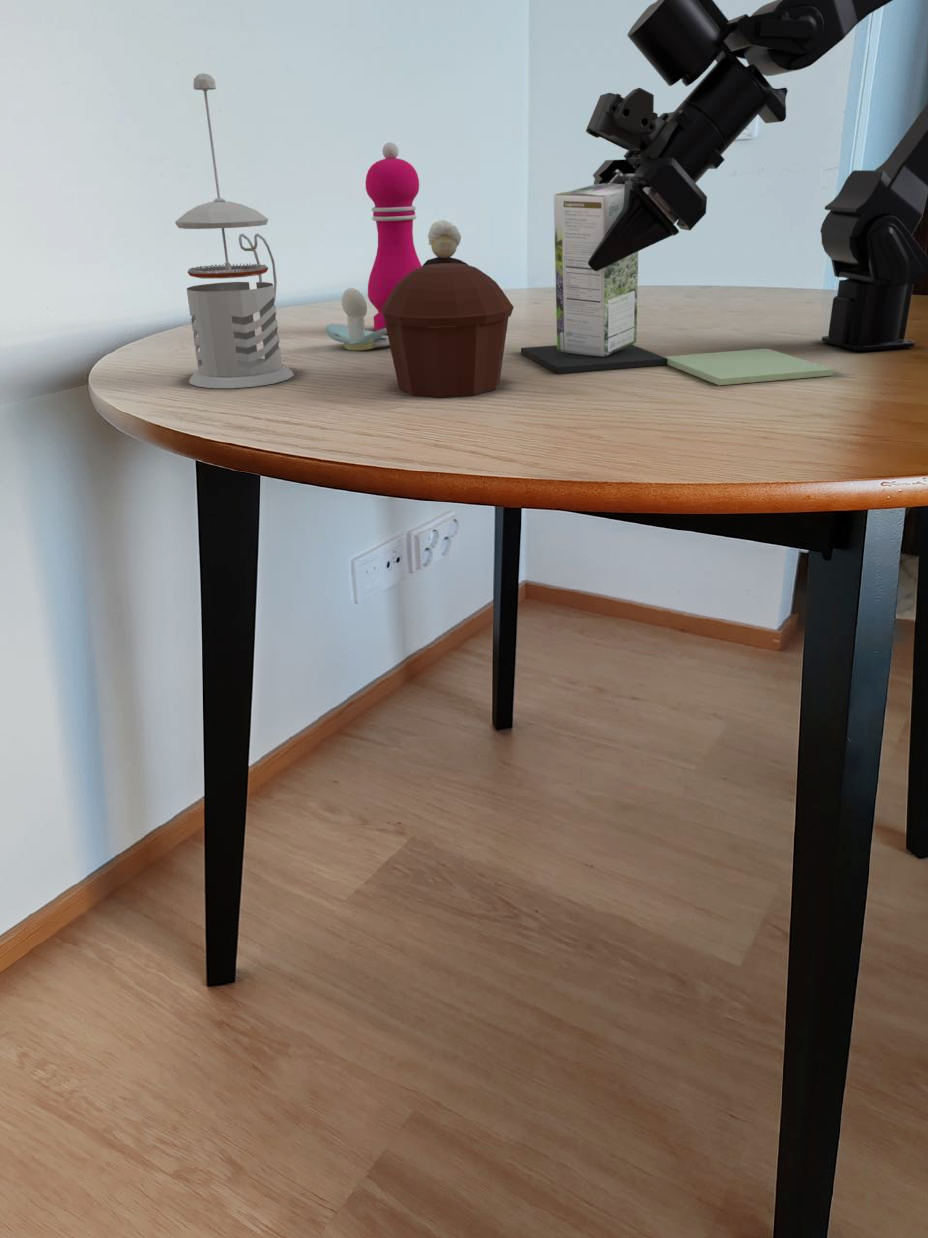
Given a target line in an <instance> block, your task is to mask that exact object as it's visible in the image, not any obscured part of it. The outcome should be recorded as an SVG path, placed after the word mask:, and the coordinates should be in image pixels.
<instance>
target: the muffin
mask: <svg viewBox="0 0 928 1238" xmlns="http://www.w3.org/2000/svg"><path fill="white" fill-rule="evenodd" d="M422 266H423V265H422ZM513 311H514V305H513V304H512V302H511V301H510V300H509V298H508V297H507V295H506V293H505V292H504V291H503V289H502V288H501V286H499V284H498V283H497V281H495V280H494V279H493V278H492V277H491V276H490V275H488V274H486V273H485V272H484V271H482V270H481V269H479V268H477V267H475V266H472V265H469V264H468V265H466V264H460V263H440V264H430V265H426V266H423V267H420V268H418V269H415V270H413V271H412V272H410V273H409V274H408V275H406V276H405V277H404V278H403V279H401V280H400V281H399V282H398V283H397V284H396V286H395V287H394V289H393V290H392V292H391V293H390V295H389V297H388V298H387V300H386V302H385V304H384V305H383V307H382V308H381V312H382V314H383V317H384V319H385V325H386V330H387V334H386V335H387V337H388V339H389V344H390V345H389V348H390V353H391V357H392V361H393V367H394V372H395V376H396V380H397V384H398V390H400V391H402V392H406V393H407V394H409V395H411V396H417V397H418V396H420V397H433V398H440V399H441V398H451V397H468V396H469V397H470V396H471V397H472V396H476V395H480V394H483V393H488V392H491V391H496V390H497V386H498V385H499V384H500V382H501V377H502V376H501V374H502V366H503V360H504V352H505V346H506V338H507V331H508V324H509V318H510V317H511V316H512V313H513Z"/></svg>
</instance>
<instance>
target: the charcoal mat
mask: <svg viewBox="0 0 928 1238" xmlns="http://www.w3.org/2000/svg"><path fill="white" fill-rule="evenodd" d="M520 354H521V355H522V356H524V357H526V358H528V359H530V360H531V361H533V362H535V363H537V364H539V365H541V366H542V367H544V368H546V369H547V370H550V371H551V372H553V373H555V374H557V375H559V374H570V373H583V372H594V371H608V370H609V371H610V370H619V369H633V368H645V367H656V366H657V367H658V366H666V365H667V358H665V357H666V356H663V355H661V354H660V355H659V354H657V353H654V352H652V351H649V350H646V349H644V348H641V347H639V346H637V345H634V344H632V345H630V346H627V347H625V348H623V349H621V350H619V351H616V352H614V353H612V354H610V355H607V356H605V357H601V356H593V355H583V354H575V353H567V352H561V351H559V350H558V349H557V344H555V345H541V346H527V347H520ZM667 366H668V365H667Z"/></svg>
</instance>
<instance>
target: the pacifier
mask: <svg viewBox="0 0 928 1238" xmlns="http://www.w3.org/2000/svg"><path fill="white" fill-rule="evenodd" d="M341 307H342V310H343V311H344V313H345V314H346V319H347V325H346V324H340V323H329V324H327V325H326V326H325V334H326V335H327V337H329V338H330V339H331V340H333V341H335V342H337V343H343V346H344V349H346V350H349V351H366V350H371V349H375V348H381V347H388V346H389V347H390V344H389V339H388V336H386V335H387V334H386V333H387V330H386V328H384V329H380V330H378V331H375V330H374V331H371V330H366V324H365V323H366V322H365V317H366V316H367V313H368V305H367V301H366V298H365V297H364V295H363V294H362V293H361V291H359V290H358V289H356V288H354V287H349V288H346V289H345V290H344V292H343V293H342V296H341Z"/></svg>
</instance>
